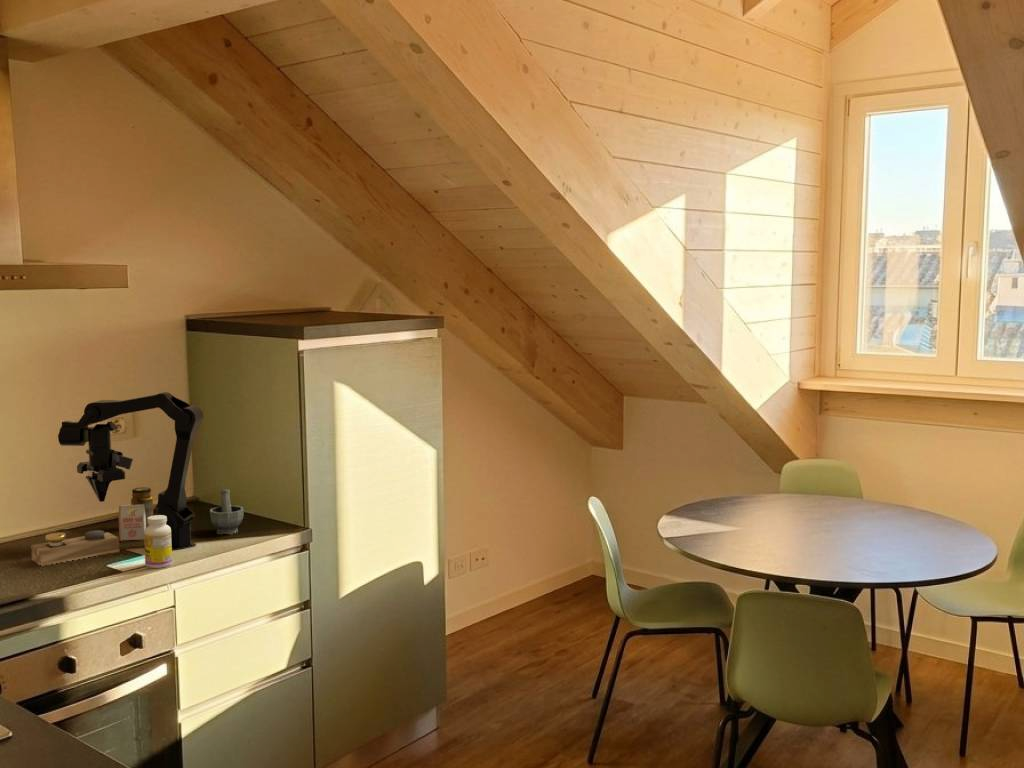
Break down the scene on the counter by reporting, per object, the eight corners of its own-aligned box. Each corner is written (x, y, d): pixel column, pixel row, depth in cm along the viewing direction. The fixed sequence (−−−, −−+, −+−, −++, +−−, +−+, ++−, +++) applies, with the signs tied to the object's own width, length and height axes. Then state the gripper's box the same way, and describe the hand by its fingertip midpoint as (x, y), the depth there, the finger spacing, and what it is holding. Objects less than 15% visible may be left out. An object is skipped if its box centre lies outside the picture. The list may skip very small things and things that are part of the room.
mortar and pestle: (245, 534, 283) (243, 494, 282) (211, 537, 280) (210, 496, 279) (242, 525, 294) (241, 486, 293) (209, 528, 291) (208, 488, 290)
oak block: (119, 552, 265) (118, 537, 264) (41, 566, 251) (40, 551, 251) (108, 546, 271) (107, 532, 270) (31, 559, 257) (31, 545, 257)
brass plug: (68, 550, 257) (68, 535, 257) (49, 553, 254) (49, 538, 254) (62, 546, 261) (62, 531, 260) (43, 550, 258) (43, 534, 257)
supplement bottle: (144, 563, 255) (142, 515, 253) (171, 560, 257) (169, 513, 256) (145, 570, 249) (144, 521, 247) (173, 567, 251) (171, 518, 250)
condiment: (150, 524, 296) (149, 485, 295) (160, 529, 289) (159, 490, 288) (126, 527, 291) (124, 488, 290) (135, 533, 285) (134, 493, 284)
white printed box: (121, 538, 279) (120, 504, 278) (146, 537, 281) (145, 503, 280) (119, 541, 276) (117, 507, 275) (144, 540, 277) (143, 506, 276)
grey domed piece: (107, 547, 264) (106, 532, 264) (89, 551, 261) (88, 535, 260) (100, 544, 268) (100, 529, 267) (82, 547, 264) (82, 532, 264)
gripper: (142, 447, 268) (144, 502, 270) (114, 438, 281) (116, 491, 283) (102, 451, 260) (104, 508, 262) (75, 443, 273) (77, 497, 275)
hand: (101, 501), depth 270 cm, fingers closed
